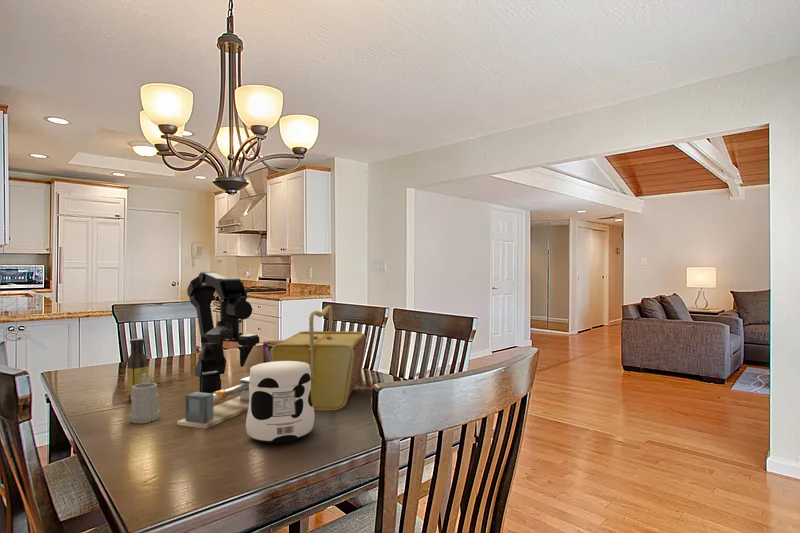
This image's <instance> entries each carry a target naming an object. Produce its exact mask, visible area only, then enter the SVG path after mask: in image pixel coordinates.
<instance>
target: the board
mask: <svg viewBox="0 0 800 533" xmlns="http://www.w3.org/2000/svg"><path fill="white" fill-rule="evenodd" d="M248 405H249V401H245V400H240V395H239V396H237V397H234V398H231V399H229V400H227V401H223V402H222V403H221V402H220V404H219V403H218V404H217V405H216V404H215V405H213V419H212V420H210V421H207V422H205V423H197V422H189V421H186V417H185V418H182V419H180V420H177V421H176V422H177V423H176V424H177V425H176V426H182V427H189V428H197V429H203V430H207V429H209V428H212V427H214V426H216V425H218V424H220V423H223V422H225V421H227V420H229V419H232V418H234V417H236V416H238V415H240V414H242V413H245V412H247V409H248Z"/></svg>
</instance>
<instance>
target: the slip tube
mask: <svg viewBox="0 0 800 533" xmlns="http://www.w3.org/2000/svg"><path fill="white" fill-rule="evenodd" d="M248 389H249V382H245V383H242V384H240V383H239V384H237V385H235V386H231V387H229V388H226V389H224V388H221V390H218V391H216V392H213V393H212V394H213V404H215V405H216V404H217V405H218V404H219V403H221V402H222V403H223V402H225V400H227V399H228V398H230V397H232V396H235V395H237V394H240V392H243V391H245V390H248Z"/></svg>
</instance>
